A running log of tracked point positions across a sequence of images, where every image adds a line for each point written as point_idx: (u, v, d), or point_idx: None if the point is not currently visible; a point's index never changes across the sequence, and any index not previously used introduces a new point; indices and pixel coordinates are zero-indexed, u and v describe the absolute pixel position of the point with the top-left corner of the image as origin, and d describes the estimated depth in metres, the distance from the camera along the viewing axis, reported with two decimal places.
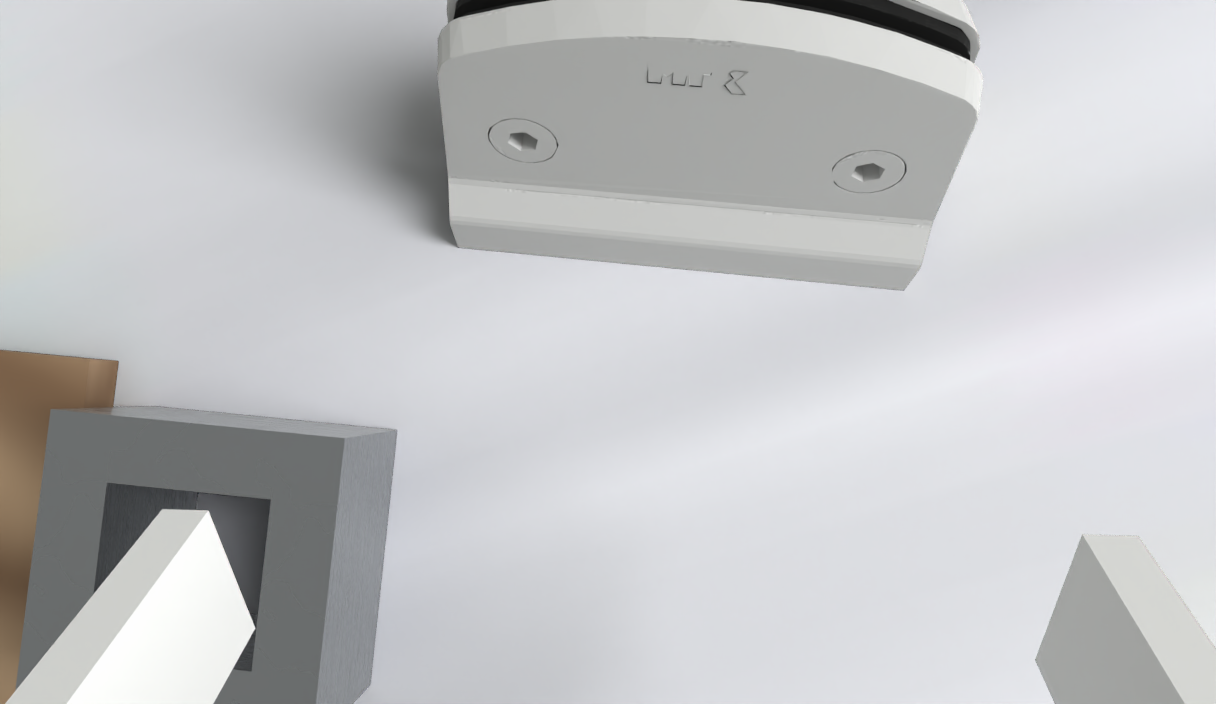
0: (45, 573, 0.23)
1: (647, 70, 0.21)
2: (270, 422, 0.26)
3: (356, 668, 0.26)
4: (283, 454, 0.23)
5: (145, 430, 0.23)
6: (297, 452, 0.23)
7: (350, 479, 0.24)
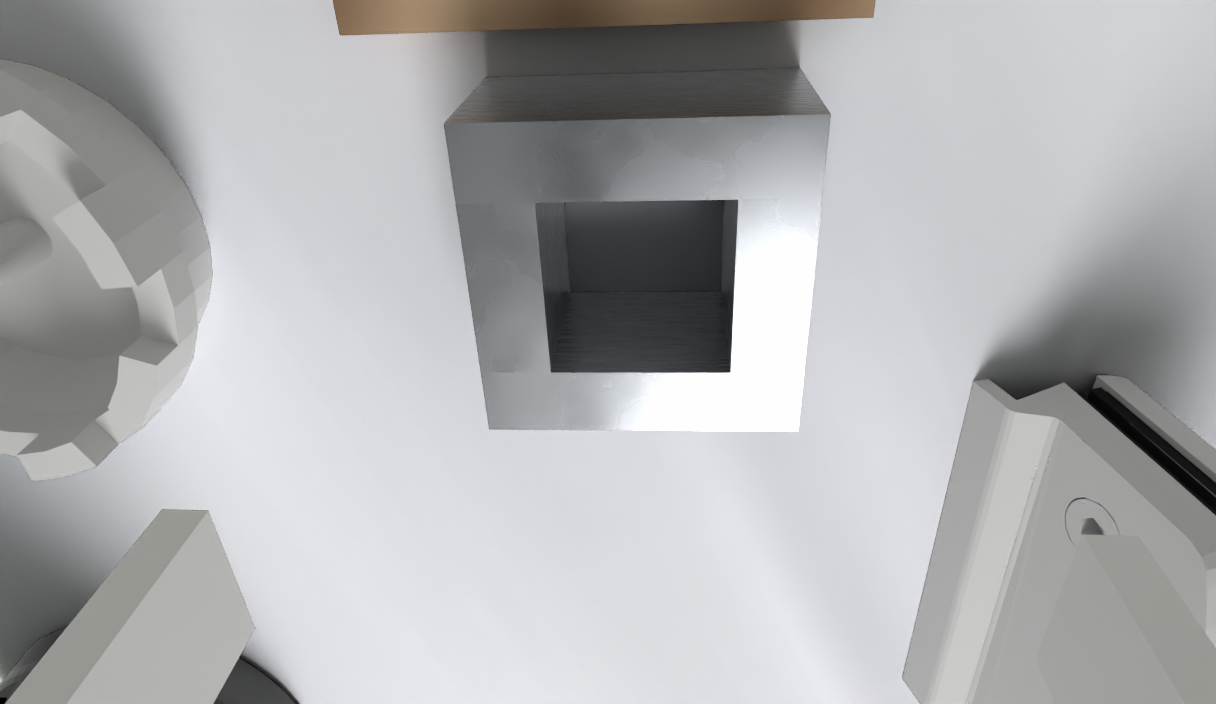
0: (619, 139, 0.19)
1: None
2: None
3: None
4: (779, 380, 0.22)
5: (803, 237, 0.20)
6: (782, 391, 0.22)
7: None
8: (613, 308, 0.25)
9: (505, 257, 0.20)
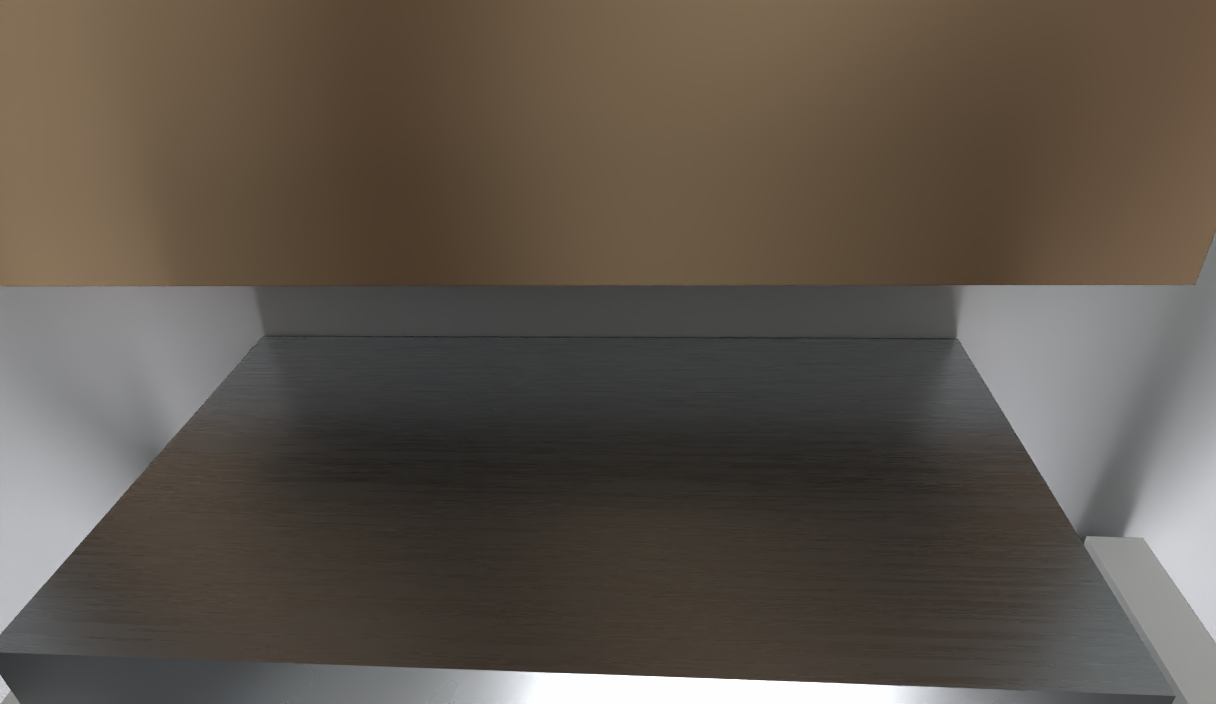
0: None
1: None
2: None
3: None
4: None
5: None
6: None
7: None
8: None
9: None
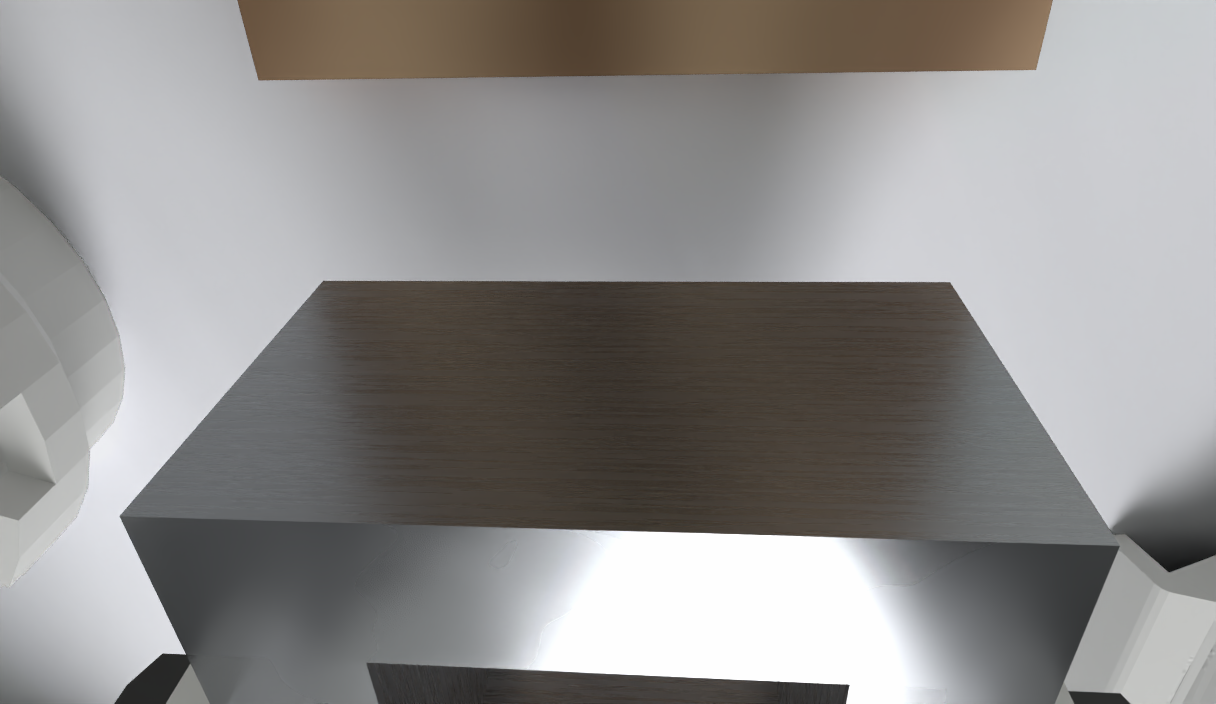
0: (557, 565, 0.07)
1: None
2: None
3: None
4: None
5: None
6: None
7: None
8: None
9: None
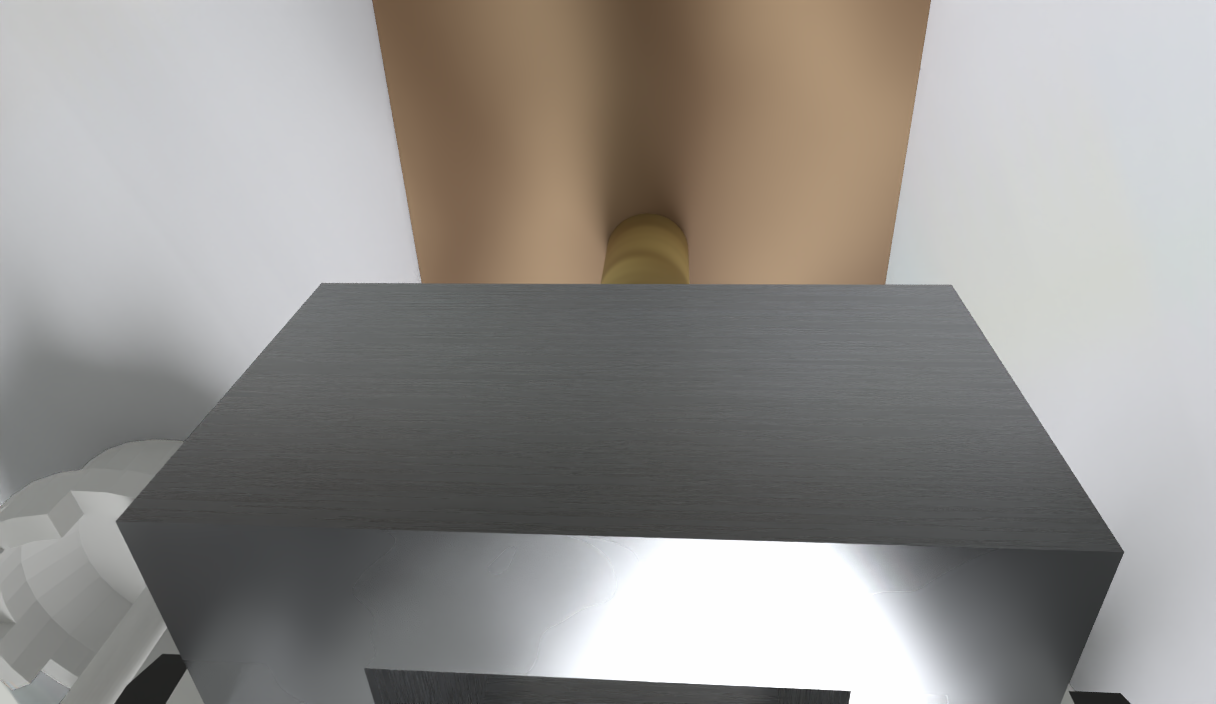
0: (557, 571, 0.07)
1: None
2: None
3: None
4: None
5: None
6: None
7: None
8: None
9: None
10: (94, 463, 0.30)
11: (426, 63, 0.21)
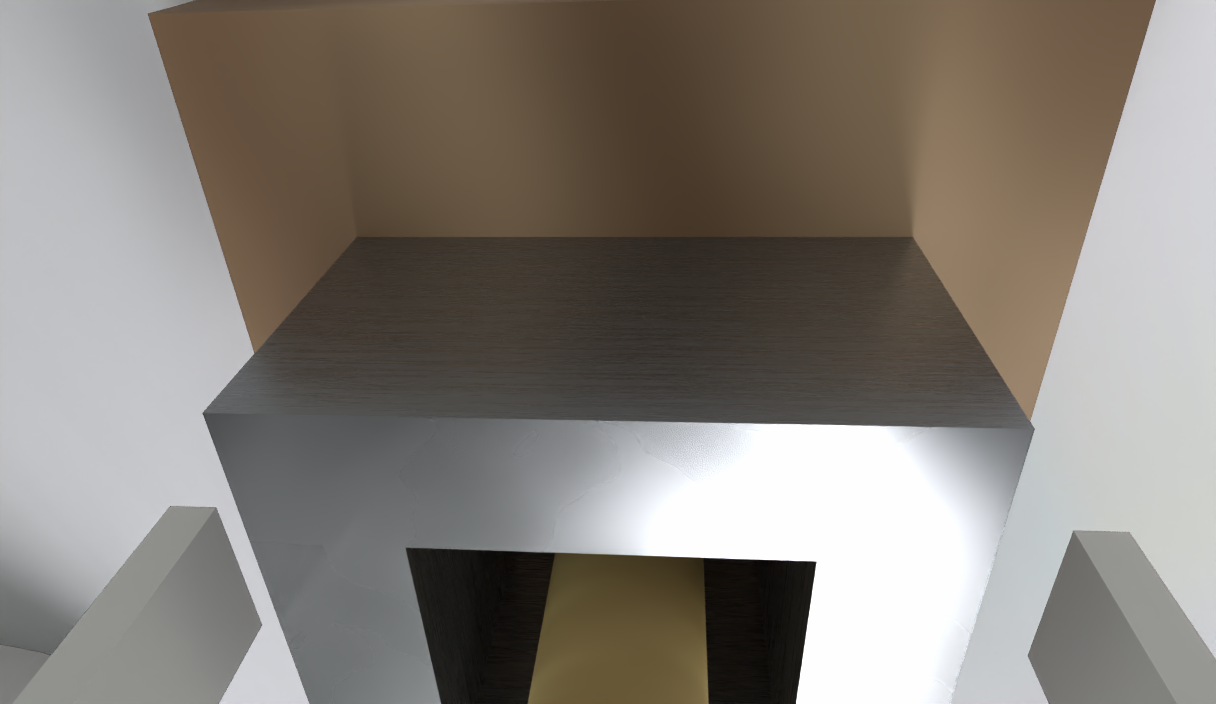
0: (571, 454, 0.09)
1: None
2: None
3: None
4: None
5: (945, 625, 0.10)
6: None
7: None
8: None
9: (359, 624, 0.11)
10: None
11: (270, 181, 0.13)
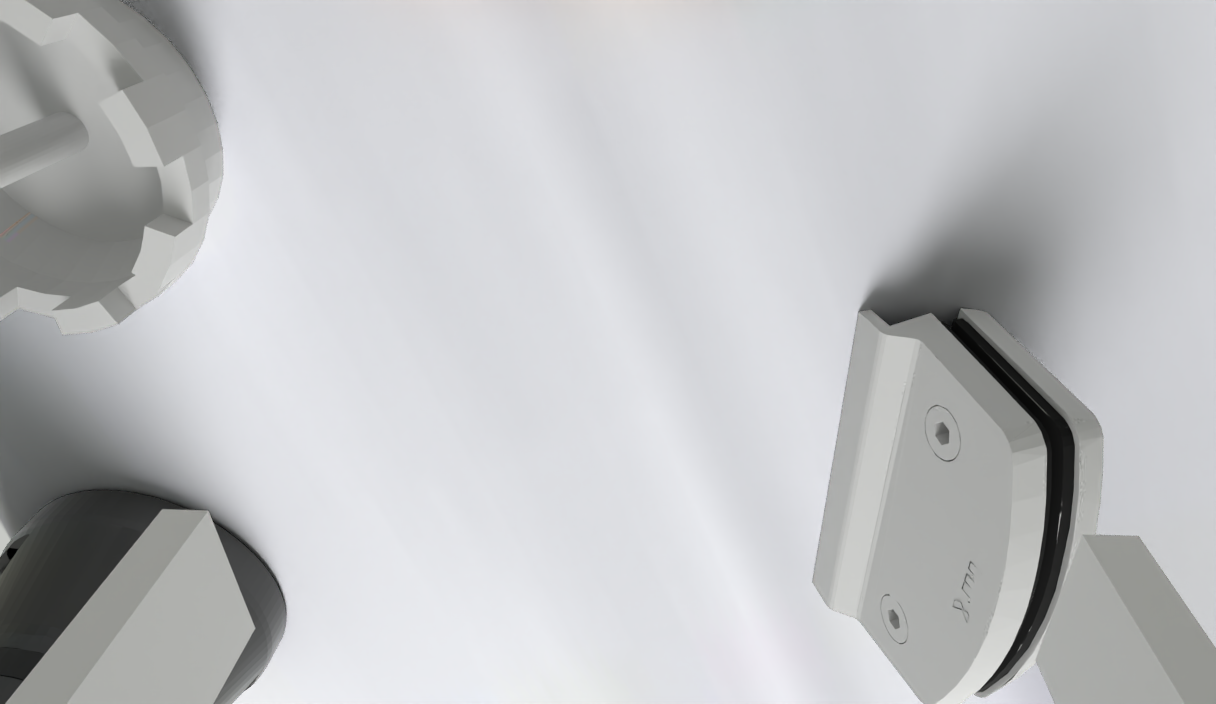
0: None
1: (977, 569, 0.29)
2: None
3: None
4: None
5: None
6: None
7: None
8: None
9: None
10: None
11: None
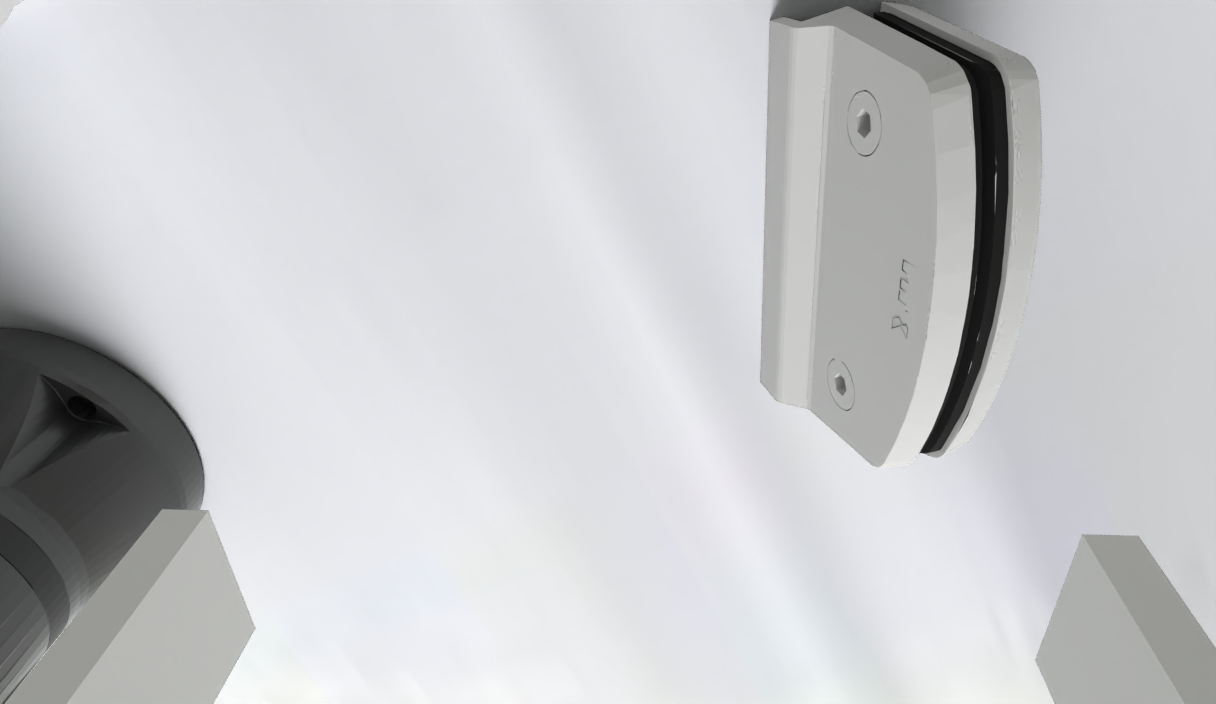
0: None
1: (910, 264, 0.25)
2: None
3: None
4: None
5: None
6: None
7: None
8: None
9: None
10: None
11: None
